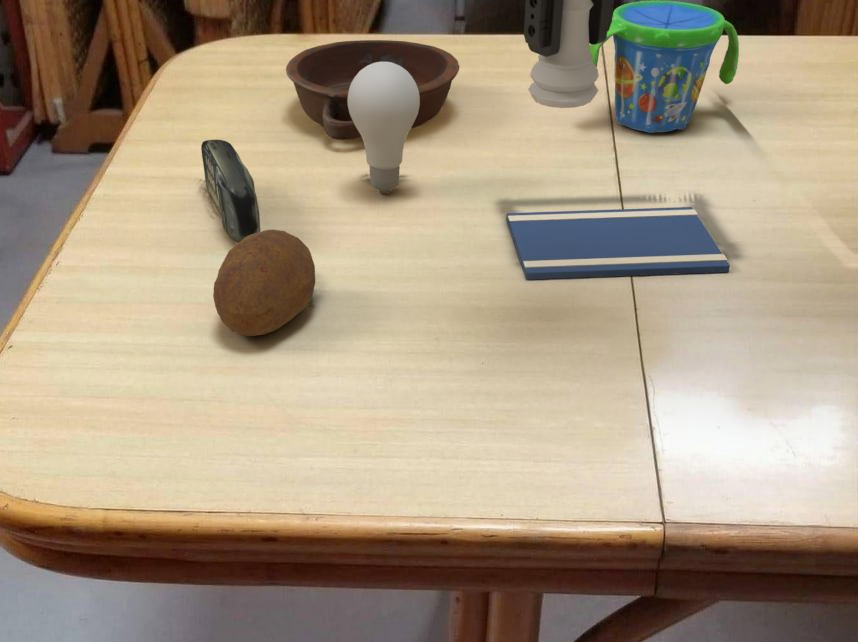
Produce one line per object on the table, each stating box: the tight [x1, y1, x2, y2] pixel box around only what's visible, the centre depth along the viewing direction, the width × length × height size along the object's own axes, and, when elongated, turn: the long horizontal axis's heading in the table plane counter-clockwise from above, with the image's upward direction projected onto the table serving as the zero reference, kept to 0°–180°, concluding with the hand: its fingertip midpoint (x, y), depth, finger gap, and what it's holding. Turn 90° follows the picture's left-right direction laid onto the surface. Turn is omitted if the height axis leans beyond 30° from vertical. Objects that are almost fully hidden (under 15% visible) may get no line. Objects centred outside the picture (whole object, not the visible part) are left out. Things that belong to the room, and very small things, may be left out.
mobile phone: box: [200, 139, 261, 243], centre depth 90 cm, size 5×3×15 cm
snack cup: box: [589, 0, 740, 134], centre depth 105 cm, size 16×11×10 cm
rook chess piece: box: [527, 0, 600, 109], centre depth 66 cm, size 4×4×8 cm
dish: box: [285, 39, 460, 141], centre depth 109 cm, size 18×22×5 cm
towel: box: [505, 206, 731, 281], centre depth 87 cm, size 16×11×1 cm
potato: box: [212, 229, 316, 337], centre depth 77 cm, size 7×10×6 cm
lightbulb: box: [347, 62, 420, 194], centre depth 92 cm, size 6×6×11 cm
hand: (567, 45), depth 67 cm, fingers closed on rook chess piece, 3 cm apart
